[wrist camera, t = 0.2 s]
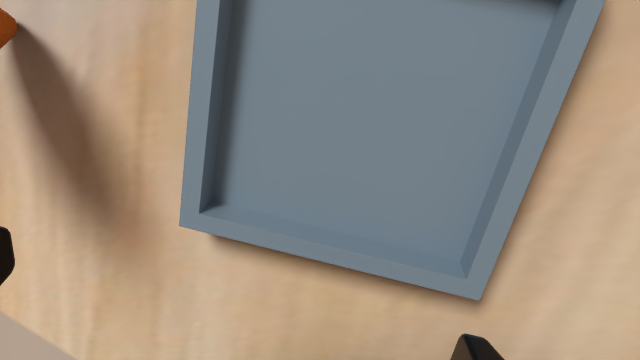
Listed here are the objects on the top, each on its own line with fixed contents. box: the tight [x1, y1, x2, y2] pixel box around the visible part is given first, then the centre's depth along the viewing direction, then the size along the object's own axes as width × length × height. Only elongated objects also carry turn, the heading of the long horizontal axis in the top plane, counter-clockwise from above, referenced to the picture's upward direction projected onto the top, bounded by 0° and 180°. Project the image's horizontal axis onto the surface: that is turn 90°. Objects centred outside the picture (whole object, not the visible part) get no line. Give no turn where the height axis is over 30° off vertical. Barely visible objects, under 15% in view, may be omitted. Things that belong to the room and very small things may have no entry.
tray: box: [179, 0, 605, 301], centre depth 19 cm, size 16×16×2 cm
